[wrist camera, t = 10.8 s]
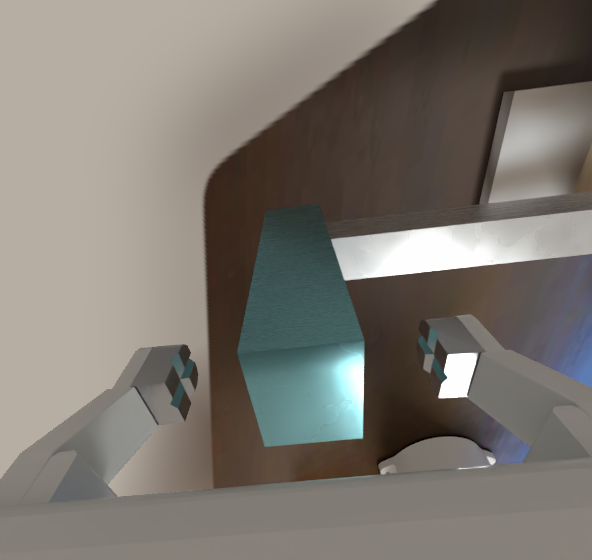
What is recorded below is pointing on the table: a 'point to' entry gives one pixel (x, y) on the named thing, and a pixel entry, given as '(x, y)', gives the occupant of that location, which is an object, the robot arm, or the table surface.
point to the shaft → (338, 306)
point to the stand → (541, 144)
